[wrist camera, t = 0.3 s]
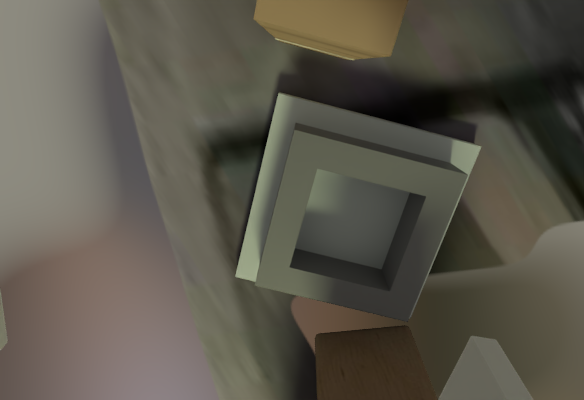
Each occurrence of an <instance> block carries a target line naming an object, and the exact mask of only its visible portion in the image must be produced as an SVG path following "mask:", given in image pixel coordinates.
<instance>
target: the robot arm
mask: <svg viewBox="0 0 584 400" xmlns="http://www.w3.org/2000/svg"><path fill="white" fill-rule="evenodd" d="M7 342H8V341H7V333H6V326H5V319H4V312H3V305H2V298H1V291H0V350H1V349H2V348H3V347H4V345H5V344H6V343H7ZM438 400H533V398H532V397H531V395H530V393H529V392H528V390H527V389H526V387H525V385H524V384H523V382H522V381H521V379H520V377H519V376H518V374H517V373H516V371H515V369H514V368H513V366H512V365H511V363H510V361H509V360H508V358H507V356H506V355H505V353H504V352H503V350H502V348H501V347H500V345H499V343H498V342H497V340H496V339H489V338H483V337H476V336H471V337H470V339H469V341H468V343H467V345H466V347H465V349H464V351H463V353H462V355H461V357H460V358H459V361H458V362H457V364H456V366H455V368H454V370H453V372H452V374H451V376H450V378H449V380H448V382H447V384H446V385H445V387H444V389H443V391H442V393H441V395H440V397H439V399H438Z"/></svg>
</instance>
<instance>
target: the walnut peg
mask: <svg viewBox="0 0 584 400" xmlns="http://www.w3.org/2000/svg"><path fill="white" fill-rule="evenodd" d="M407 3H408V0H257V4H256V9H255V14H254V20H255V21H257V22H258V23H259V24H260V25H261V26H262V27H263V28H265V29H266V30H267V31H268V32H269V33H270V34H271V35H273V36H274V37H275V39H276V40H278V41H280V42H284V43H287V44H291V45H295V46H298V47H302V48H306V49H309V50H313V51H317V52H320V53H324V54H328V55H332V56H335V57H339V58H343V59H346V60H354V59H364V58H376V57H388V56H391V54H392V50H393V47H394V44H395V41H396V38H397V34H398V31H399V28H400V25H401V22H402V19H403V15H404V12H405V9H406V6H407Z"/></svg>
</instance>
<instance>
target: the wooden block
mask: <svg viewBox="0 0 584 400" xmlns="http://www.w3.org/2000/svg"><path fill="white" fill-rule="evenodd" d="M315 352H316V379H317V400H438V399H437V397H436V394H435V391H434V389H433V387H432V384H431V381H430V379H429V376H428V374H427V371H426V369H425V366H424V364H423V361H422V359H421V356H420V354H419V351H418V349H417V346H416V343H415V341H414V338H413V336H412V333H411V331H410V329H409V327H408V326H395V327H384V328H373V329H362V330H352V331H341V332H330V333H320V334H317V335H316V338H315Z"/></svg>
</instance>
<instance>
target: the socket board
mask: <svg viewBox="0 0 584 400" xmlns="http://www.w3.org/2000/svg"><path fill="white" fill-rule="evenodd" d="M480 149H481V146H479V145H477V144H474V143H471V142H467V141H463V140H459V139H456V138H452V137H448V136H444V135H440V134H437V133H433V132H429V131H425V130H422V129H418V128H414V127H410V126H406V125H403V124H399V123H395V122H391V121H387V120H384V119H380V118H376V117H372V116H369V115H365V114H361V113H357V112H353V111H350V110H346V109H342V108H338V107H334V106H331V105H327V104H323V103H319V102H316V101H312V100H308V99H304V98H300V97H297V96H293V95H289V94H285V93H282V92H279V93H278V97H277V102H276V106H275V110H274V114H273V119H272V123H271V127H270V131H269V136H268V140H267V144H266V148H265V153H264V157H263V161H262V165H261V169H260V174H259V178H258V182H257V186H256V191H255V195H254V199H253V203H252V208H251V212H250V216H249V220H248V225H247V229H246V233H245V237H244V242H243V246H242V250H241V254H240V259H239V263H238V267H237V271H236V276H235V277H238V278H243V279H247V280H251V281H255V286H259V287H263V288H268V289H272V290H276V291H280V292H284V293H289V294H293V295H297V296H301V297H306V298H310V299H314V300H318V301H323V302H327V303H331V304H335V305H339V306H344V307H347V308H352V309H356V310H360V311H365V312H368V313H373V314H377V315H381V316H385V317H390V318H394V319H399V320H402V321H407V322H408V320H409V318H411V316H412V313H413V311H414V308H415V306H416V303H417V301H418V299H419V296H420V294H421V291H422V289H423V287H424V284H425V282H426V279H427V277H428V274H429V272H430V270H431V267H432V265H433V262H434V260H435V257H436V255H437V253H438V250H439V248H440V245H441V243H442V241H443V238H444V236H445V233H446V231H447V228H448V226H449V224H450V221H451V219H452V216H453V214H454V211H455V209H456V207H457V204H458V202H459V199H460V197H461V195H462V192H463V190H464V187H465V185H466V182H467V180H468V178H469V175H470V173H471V170H472V168H473V166H474V163H475V161H476V158H477V156H478V153H479V151H480Z"/></svg>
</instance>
